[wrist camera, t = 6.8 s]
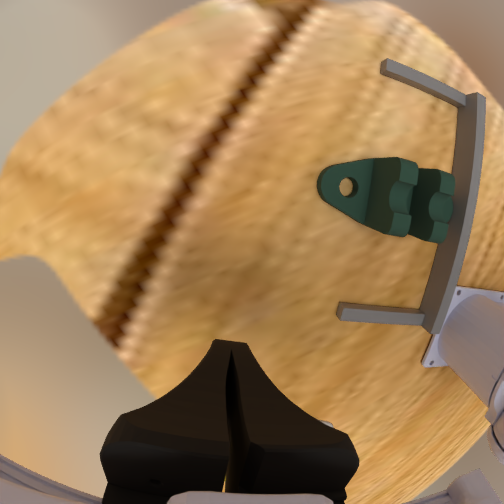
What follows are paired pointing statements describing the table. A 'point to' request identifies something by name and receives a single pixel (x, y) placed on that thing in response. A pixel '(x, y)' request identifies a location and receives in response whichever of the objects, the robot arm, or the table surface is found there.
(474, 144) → the u-shaped gray bracket
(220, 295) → the table surface
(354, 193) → the mount
